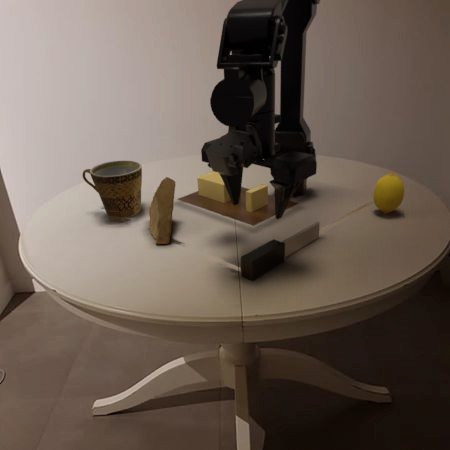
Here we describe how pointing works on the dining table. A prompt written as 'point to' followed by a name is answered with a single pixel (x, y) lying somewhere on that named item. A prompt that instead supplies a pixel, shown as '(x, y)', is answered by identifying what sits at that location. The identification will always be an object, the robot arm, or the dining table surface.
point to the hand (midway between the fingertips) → (256, 211)
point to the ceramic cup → (118, 188)
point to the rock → (162, 211)
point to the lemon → (388, 193)
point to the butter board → (235, 207)
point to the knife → (275, 252)
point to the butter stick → (213, 187)
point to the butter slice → (256, 198)
